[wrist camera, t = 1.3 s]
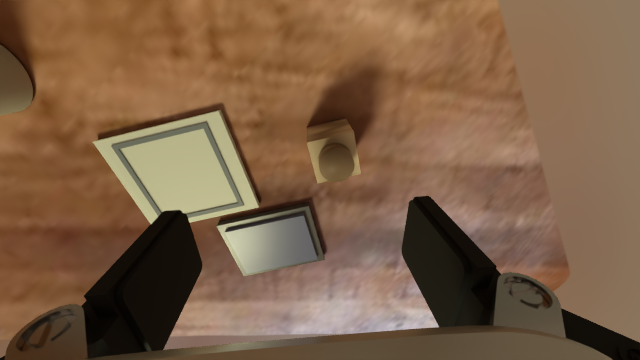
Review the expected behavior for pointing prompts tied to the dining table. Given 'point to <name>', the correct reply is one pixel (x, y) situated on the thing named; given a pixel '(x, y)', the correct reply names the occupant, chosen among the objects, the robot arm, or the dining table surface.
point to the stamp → (333, 151)
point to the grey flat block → (273, 239)
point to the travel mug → (13, 84)
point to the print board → (182, 168)
